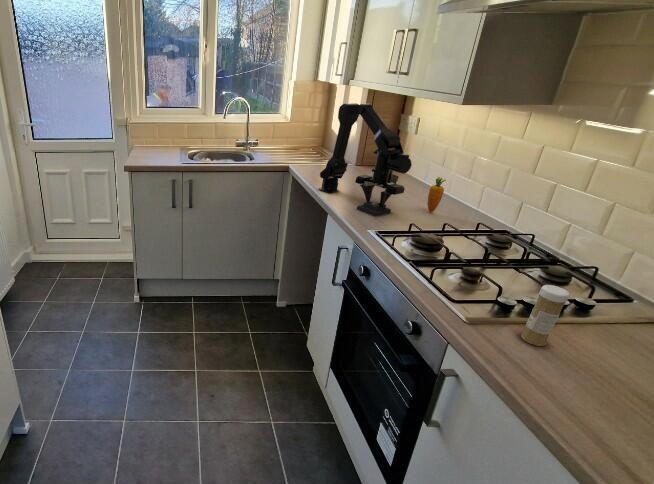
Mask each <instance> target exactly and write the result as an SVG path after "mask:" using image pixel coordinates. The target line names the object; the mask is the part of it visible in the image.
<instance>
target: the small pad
mask: <svg viewBox="0 0 654 484" xmlns="http://www.w3.org/2000/svg"><path fill="white" fill-rule="evenodd" d="M372 201H373V200H370V201H369V202H367V201H365V202H363V204H362V205H363V206H364V207H366V208H369V209H372V210H375V211H377V210H381V209H385V208H387V204H386V203H385V204H384V205H383V207H380V202H379V203H378V205H377V206H375V205H372Z"/></svg>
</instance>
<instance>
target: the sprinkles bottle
mask: <svg viewBox="0 0 654 484" xmlns="http://www.w3.org/2000/svg"><path fill="white" fill-rule="evenodd" d="M538 294H539V295H538V297H537V300H536V302H535V305H534V307H532V310H531V313H530V315H529V317H528V319H527V321H526V323H525V324H526V325H525V326H524V329H523V332H521V334H520V337H521V339H522V340H523V341H524V342H526V343H528V344H530V345H532V346H533V345H534V346H537V347H544V346H545V345H547V341H548V339H549V336H550V335H551V333H552V331H553V330H554V327H555V325H556V323H557V321H558V319H559V317H560V315H561V312H562V309H563V308H564V305H565V304H566V303H567V302H568V300H569V297H570V292H569V291H568V290H567V289H564V288H562V287H561V286H557V285H553V284H545V285H542V286H541V288H540V290H539V293H538Z"/></svg>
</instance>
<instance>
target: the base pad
mask: <svg viewBox="0 0 654 484" xmlns="http://www.w3.org/2000/svg"><path fill="white" fill-rule="evenodd" d="M371 201H372V205H375V206H377V205H378V203H380V201H377V200H371ZM356 210H357V211H360V212H363V213H366V214H368V215H371V216H373V217H378V216H382V215H385V214H390V213H391V211H392V208H388V207H386V208H385V209H381V210H377V211H375V210H372V209H369V208H366V207H364V206H363V204H359V205H357V206H356Z"/></svg>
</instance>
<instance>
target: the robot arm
mask: <svg viewBox="0 0 654 484" xmlns="http://www.w3.org/2000/svg"><path fill="white" fill-rule="evenodd" d="M360 116H361V118H362V119H363V122H365V124H366V126H368V128H369V129H370V131H371V132H372V134H373V136H374V137H373V138H374V139H373V141H374V143H375V145H376V148H377V149H376V150H374V151H373V152H372V153H373V154H375V155H376V158H375V164H374V168H372V169H371V172H372V173H373V174H372V175H368V174H361V175H357V176H356V178H355V180H354V183H355V184H358V185H359V186H360V187H361V189H362V191H363V194H364V197H365V200H366V201H365V202H369V201H371V198H372V194H373V193H372V192H373V189H374V188H375V187H377V188H378V187H379V188H382V189H384V191H380V199H379V203H380V207H383V205H384V204H385V205H386V203H387V201H388V200H389V198H391V196H393V195H394V196H395V195H396V196H397V195H401V194H405V191H406V190H405V189H406V188H405V186H404V185H402V184H399V183H397V182H398V180H399V179H400V176H399V175H396V174H394V173H393V172H397V173H399V174H402V175H403V174H407V173H408V172H410V170H411V168H412V160H411V158H410V154H404V149H403V145H402V143H401V138H400V136H399V135H398V134H397V133H396V132H395V131H394V130H392V129H391V128H389V127H387V126H386V124H385V123H384V122H383V120H382V119H381V117H380V116H379V115H378V114H377V111H376V110H375V109H374V106H373V105H372V104H371V103H360V104H359V103H357V102H354V103H353V102H352V103H350V102H349V103H342V104H341V105H340V106H339V108H338V114H337V119H338V122H339V128H338V131H337V136H336V140H335V144H334V149H333V153H332V155H331V157H330V158H329V159H328V161H327V163H326V164H325V168H323V170H322V171H320V172H319V178H321V179H322V181H321V182H322V183H321V187H320V188H318V191H320V192H321V191H322V192H325V193H327V194H333V193H339V191H340V190H339V189H338V187H339V179H342V178H343V176H344V175H345V173H346V172H347V168H348V165H349V163H348V162H346V158H345V157H346V152H347V148H348V143H349V140H350V136H351V133H352V128H353V126H354V124H355V123H356V122H357V121H358V120H359V117H360Z"/></svg>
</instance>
